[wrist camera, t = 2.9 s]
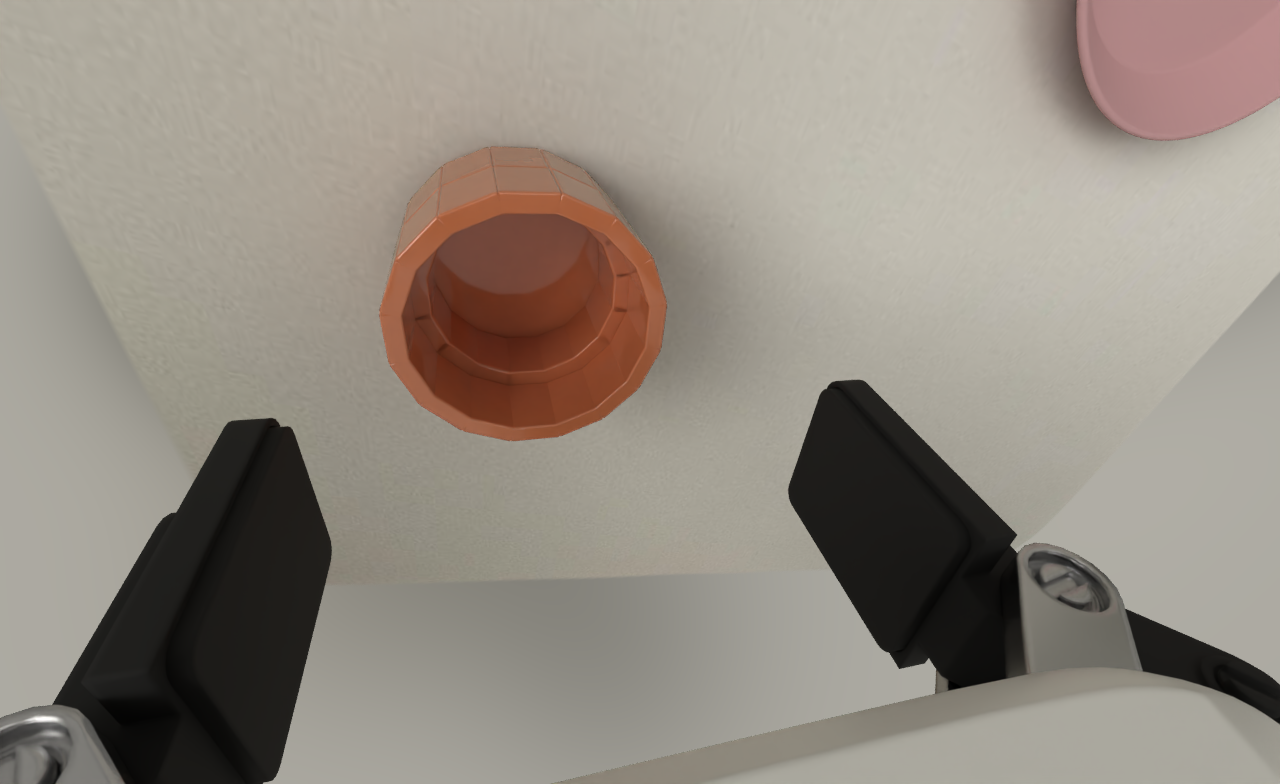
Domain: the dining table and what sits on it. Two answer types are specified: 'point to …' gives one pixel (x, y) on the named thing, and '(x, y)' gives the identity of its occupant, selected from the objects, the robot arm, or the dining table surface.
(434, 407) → the bowl
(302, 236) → the dining table surface
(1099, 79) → the plate
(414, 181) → the dining table surface
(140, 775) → the robot arm
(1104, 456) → the dining table surface
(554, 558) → the dining table surface
